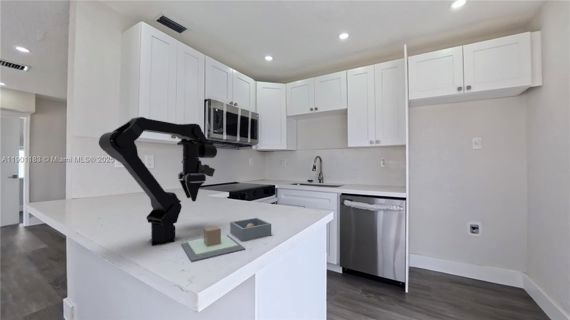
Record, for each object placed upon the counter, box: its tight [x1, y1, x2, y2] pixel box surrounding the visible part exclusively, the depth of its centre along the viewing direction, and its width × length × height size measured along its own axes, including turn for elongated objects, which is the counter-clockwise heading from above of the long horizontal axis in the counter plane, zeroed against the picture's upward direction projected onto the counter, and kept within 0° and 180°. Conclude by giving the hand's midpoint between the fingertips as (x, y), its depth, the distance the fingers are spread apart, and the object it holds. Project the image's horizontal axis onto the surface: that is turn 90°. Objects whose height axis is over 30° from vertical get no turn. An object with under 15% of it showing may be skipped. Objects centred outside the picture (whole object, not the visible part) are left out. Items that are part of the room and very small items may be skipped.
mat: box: [180, 234, 246, 263], centre depth 70 cm, size 15×15×1 cm
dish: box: [229, 217, 272, 242], centre depth 82 cm, size 11×11×4 cm
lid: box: [186, 225, 238, 257], centre depth 70 cm, size 12×12×5 cm
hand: (191, 199), depth 85 cm, fingers open, 9 cm apart
